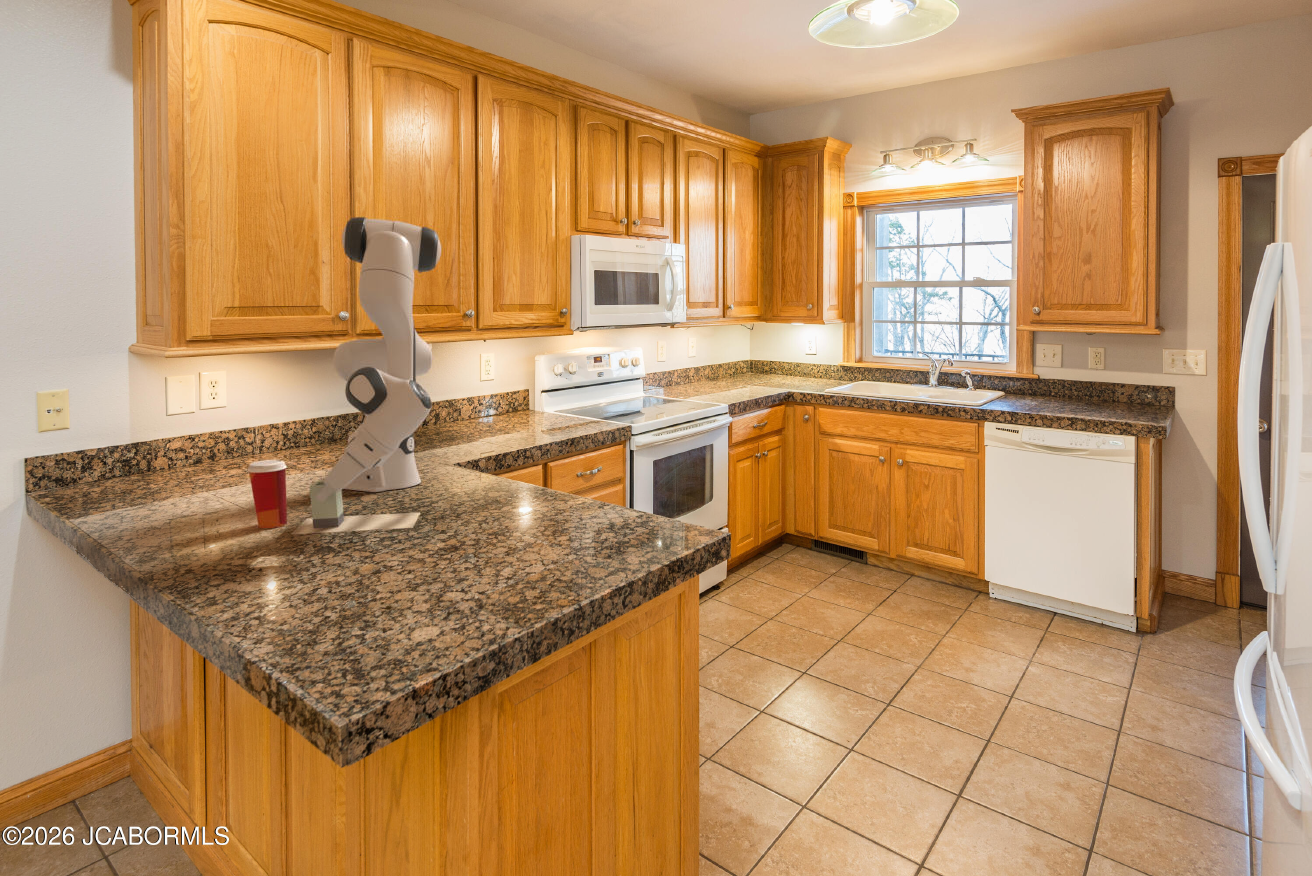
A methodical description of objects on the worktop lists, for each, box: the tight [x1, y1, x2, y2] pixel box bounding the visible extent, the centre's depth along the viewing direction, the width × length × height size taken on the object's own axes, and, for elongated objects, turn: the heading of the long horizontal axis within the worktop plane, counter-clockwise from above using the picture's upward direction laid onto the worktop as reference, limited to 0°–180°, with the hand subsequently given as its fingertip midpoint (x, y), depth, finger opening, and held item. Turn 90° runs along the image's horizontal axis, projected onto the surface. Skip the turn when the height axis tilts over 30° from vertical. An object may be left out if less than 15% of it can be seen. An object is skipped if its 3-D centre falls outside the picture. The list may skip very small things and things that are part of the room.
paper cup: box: [247, 459, 288, 530], centre depth 166 cm, size 8×8×14 cm
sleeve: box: [309, 480, 345, 528], centre depth 161 cm, size 5×5×9 cm
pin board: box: [290, 512, 421, 535], centre depth 162 cm, size 24×12×6 cm, turn 100°
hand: (325, 493), depth 161 cm, fingers open, 8 cm apart
